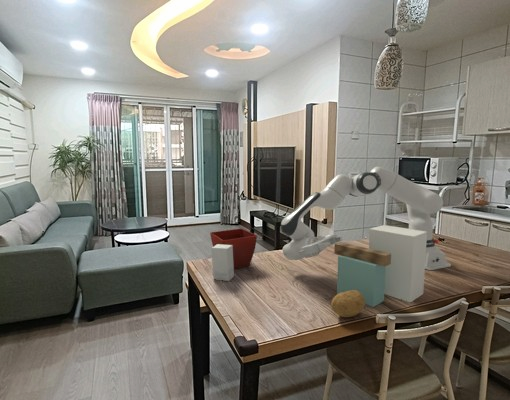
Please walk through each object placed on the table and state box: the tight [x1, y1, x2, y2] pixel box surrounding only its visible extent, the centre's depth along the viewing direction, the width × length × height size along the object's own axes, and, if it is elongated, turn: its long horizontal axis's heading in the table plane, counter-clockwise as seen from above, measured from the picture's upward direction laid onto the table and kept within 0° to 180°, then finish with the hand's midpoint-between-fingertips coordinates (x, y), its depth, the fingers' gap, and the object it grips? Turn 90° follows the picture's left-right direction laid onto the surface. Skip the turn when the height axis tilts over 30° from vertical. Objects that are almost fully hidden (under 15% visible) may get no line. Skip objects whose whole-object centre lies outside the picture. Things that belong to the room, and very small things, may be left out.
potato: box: [330, 290, 366, 318], centre depth 112 cm, size 10×14×8 cm
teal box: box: [336, 254, 386, 308], centre depth 126 cm, size 8×16×16 cm, turn 41°
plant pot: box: [210, 228, 258, 270], centre depth 166 cm, size 19×19×17 cm
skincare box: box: [211, 244, 235, 282], centre depth 147 cm, size 8×7×16 cm
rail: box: [334, 241, 391, 266], centre depth 125 cm, size 22×4×4 cm, turn 41°
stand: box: [368, 224, 427, 303], centre depth 131 cm, size 12×18×26 cm, turn 41°
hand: (335, 241), depth 134 cm, fingers open, 8 cm apart
